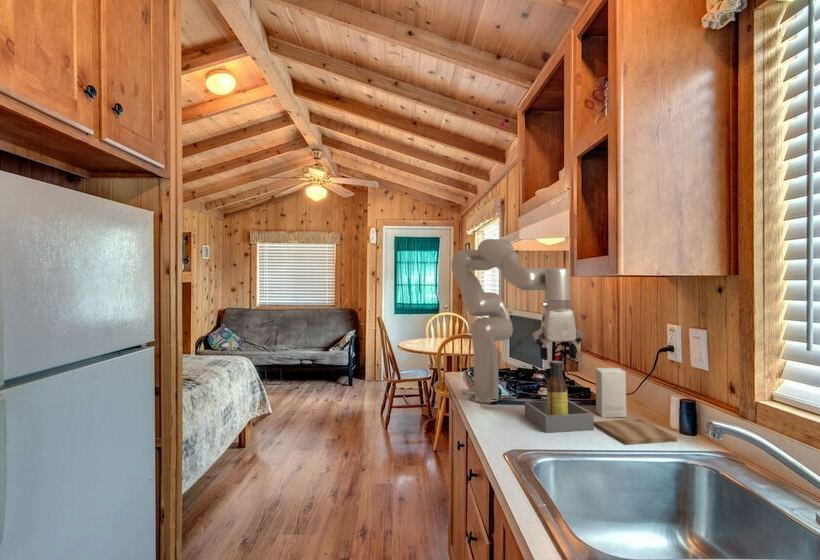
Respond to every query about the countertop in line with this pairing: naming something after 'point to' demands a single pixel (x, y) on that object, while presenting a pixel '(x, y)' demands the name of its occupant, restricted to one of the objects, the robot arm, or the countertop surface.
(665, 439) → the board
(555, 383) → the sauce bottle
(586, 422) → the bin
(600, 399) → the skincare box
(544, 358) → the robot arm
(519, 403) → the countertop surface
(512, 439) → the countertop surface
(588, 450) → the countertop surface
